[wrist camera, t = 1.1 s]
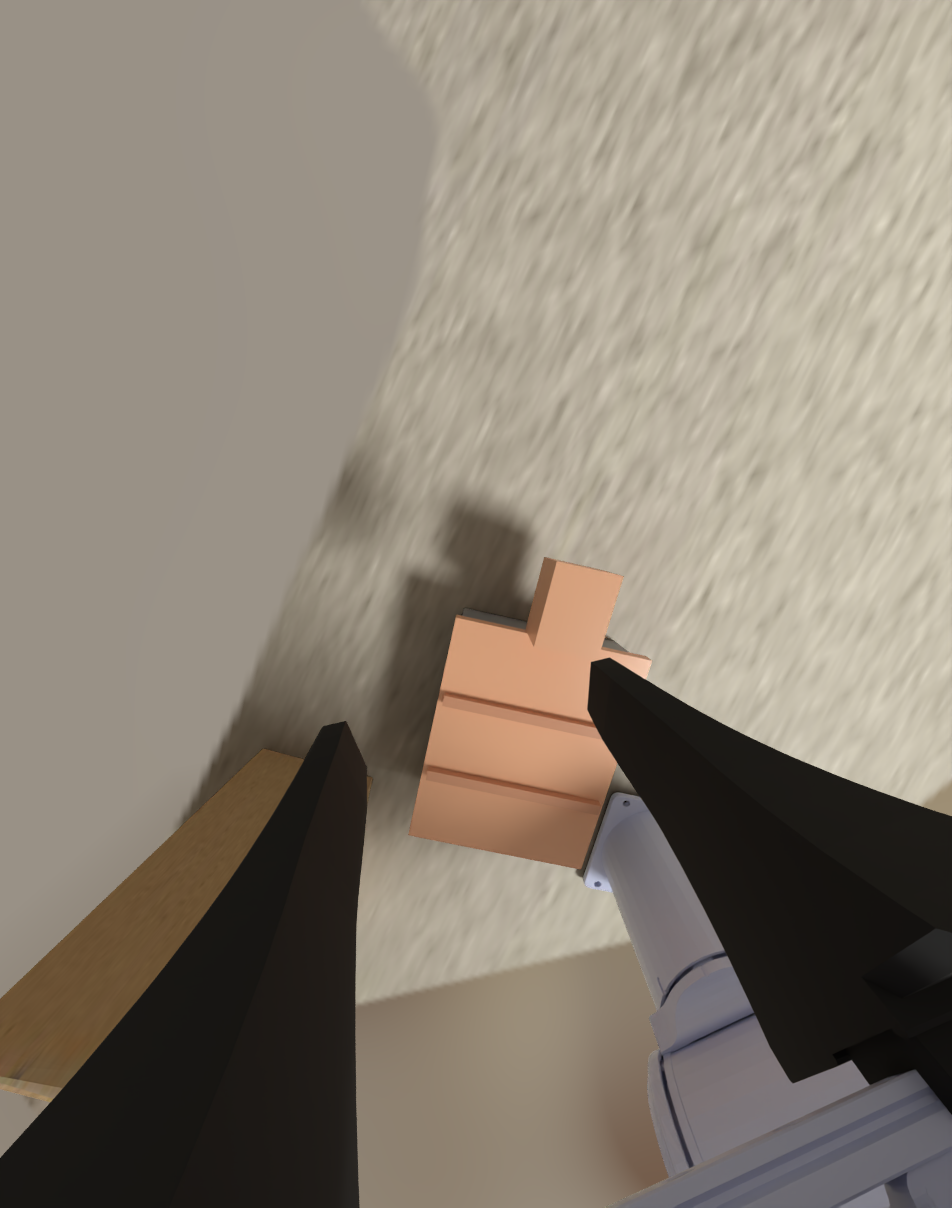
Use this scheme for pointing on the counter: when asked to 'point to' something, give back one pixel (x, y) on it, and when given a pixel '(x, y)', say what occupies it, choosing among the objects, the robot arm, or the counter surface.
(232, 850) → the sandwich container
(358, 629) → the counter surface
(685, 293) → the counter surface
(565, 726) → the lid
